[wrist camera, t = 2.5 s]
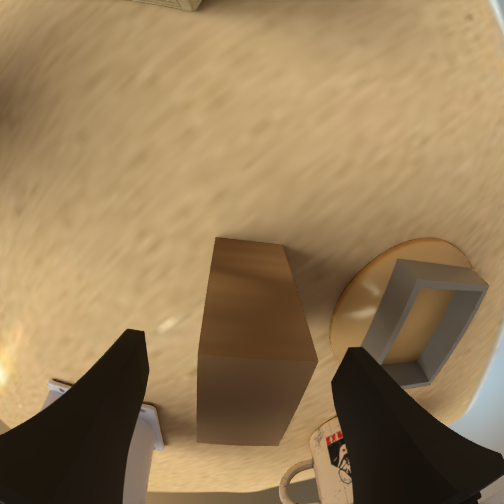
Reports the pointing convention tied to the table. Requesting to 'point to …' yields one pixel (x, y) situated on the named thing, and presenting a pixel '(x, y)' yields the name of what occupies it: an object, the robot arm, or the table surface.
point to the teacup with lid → (325, 467)
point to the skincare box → (175, 3)
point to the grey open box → (409, 309)
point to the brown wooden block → (251, 347)
